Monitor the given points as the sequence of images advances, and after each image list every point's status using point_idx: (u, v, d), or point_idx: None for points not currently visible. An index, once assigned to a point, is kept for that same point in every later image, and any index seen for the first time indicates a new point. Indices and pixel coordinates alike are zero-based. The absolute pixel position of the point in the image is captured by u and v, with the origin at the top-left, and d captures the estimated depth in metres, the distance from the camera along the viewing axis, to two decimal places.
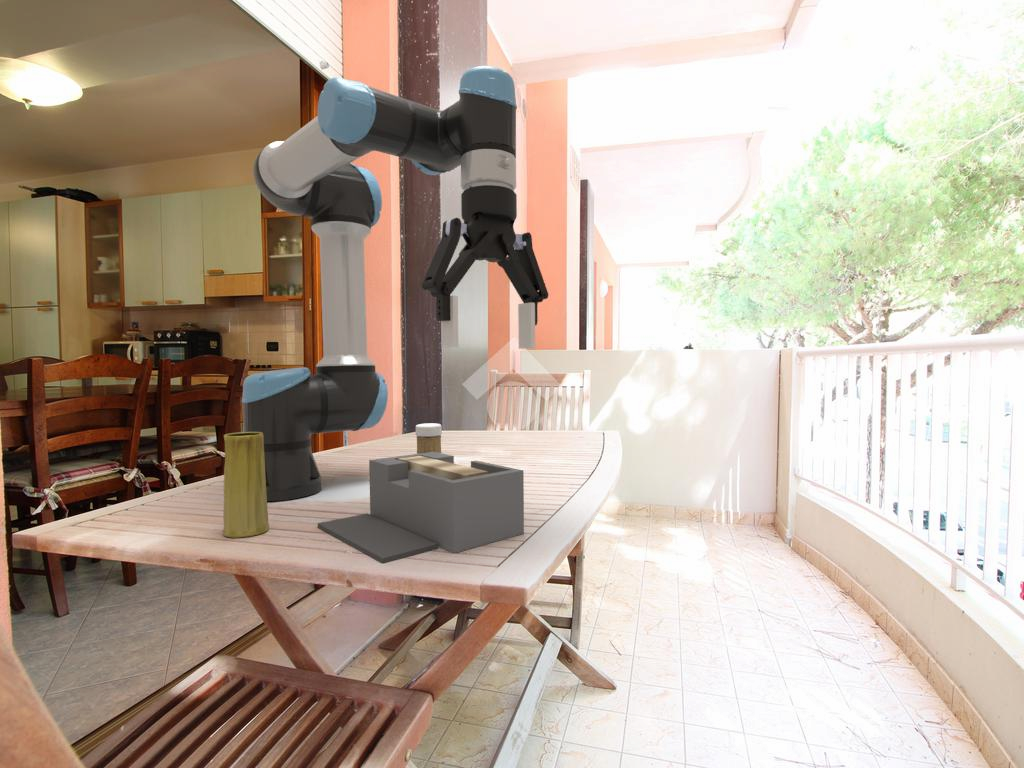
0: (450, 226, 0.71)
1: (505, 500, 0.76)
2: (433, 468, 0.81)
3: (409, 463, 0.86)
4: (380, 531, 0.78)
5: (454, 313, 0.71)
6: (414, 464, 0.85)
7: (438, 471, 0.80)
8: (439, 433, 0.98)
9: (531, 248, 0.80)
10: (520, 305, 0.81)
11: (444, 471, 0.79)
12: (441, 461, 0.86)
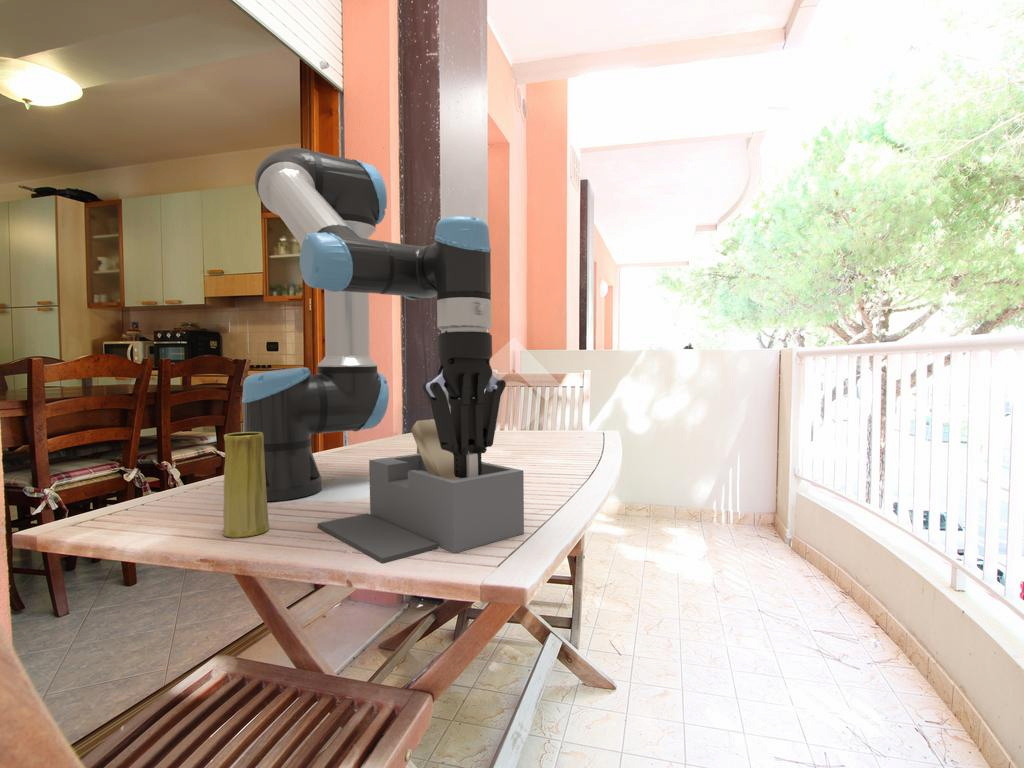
0: (432, 393, 0.74)
1: (505, 500, 0.76)
2: None
3: (424, 441, 0.83)
4: (380, 531, 0.78)
5: (470, 471, 0.77)
6: (427, 449, 0.82)
7: None
8: None
9: (499, 395, 0.80)
10: None
11: None
12: (453, 456, 0.84)
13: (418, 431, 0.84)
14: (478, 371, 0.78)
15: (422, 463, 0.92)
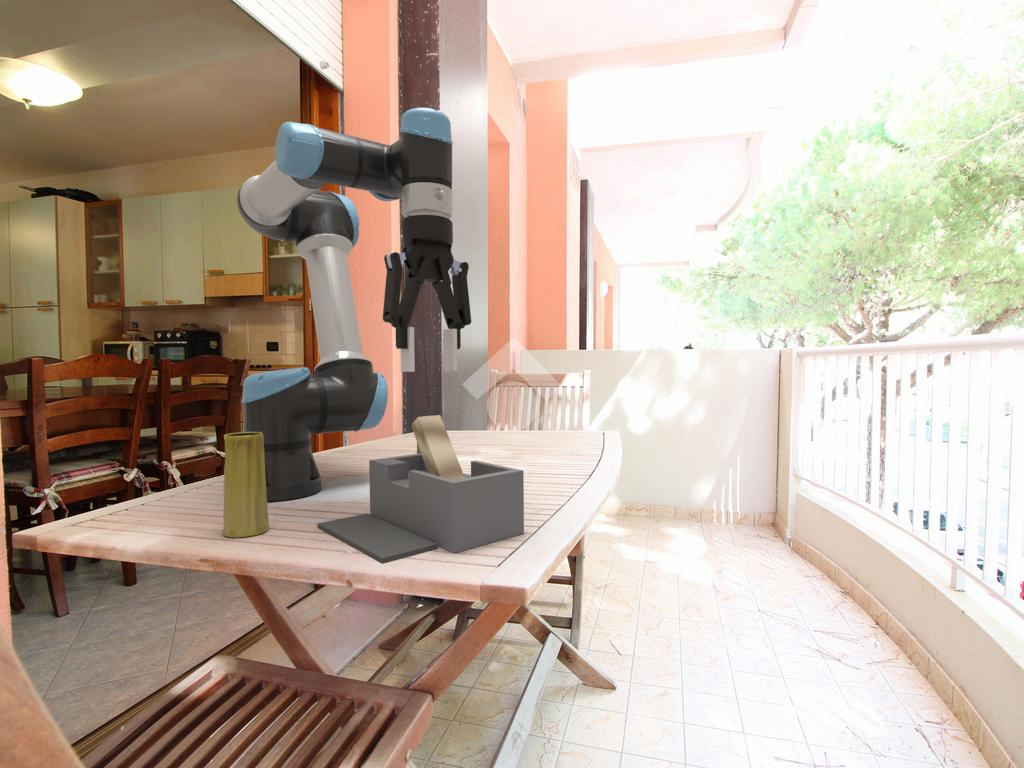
0: (391, 261, 0.80)
1: (505, 500, 0.76)
2: None
3: (424, 438, 0.83)
4: (380, 531, 0.78)
5: (411, 342, 0.81)
6: (428, 446, 0.82)
7: None
8: None
9: (465, 276, 0.87)
10: (444, 331, 0.88)
11: None
12: (453, 454, 0.84)
13: (418, 427, 0.84)
14: None
15: (422, 463, 0.92)
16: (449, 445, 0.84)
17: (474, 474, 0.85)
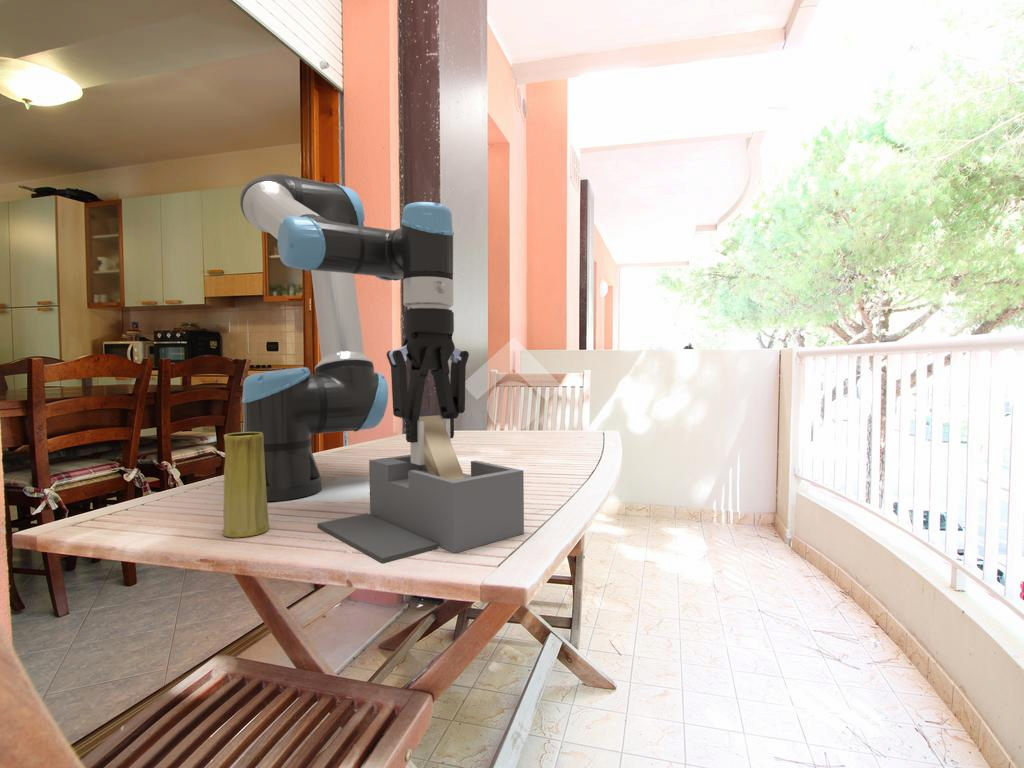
0: (394, 359, 0.80)
1: (505, 500, 0.76)
2: None
3: (424, 438, 0.83)
4: (380, 531, 0.78)
5: (421, 436, 0.83)
6: (428, 446, 0.82)
7: None
8: None
9: (464, 365, 0.88)
10: None
11: None
12: (453, 454, 0.84)
13: None
14: None
15: None
16: (449, 445, 0.84)
17: (474, 474, 0.85)
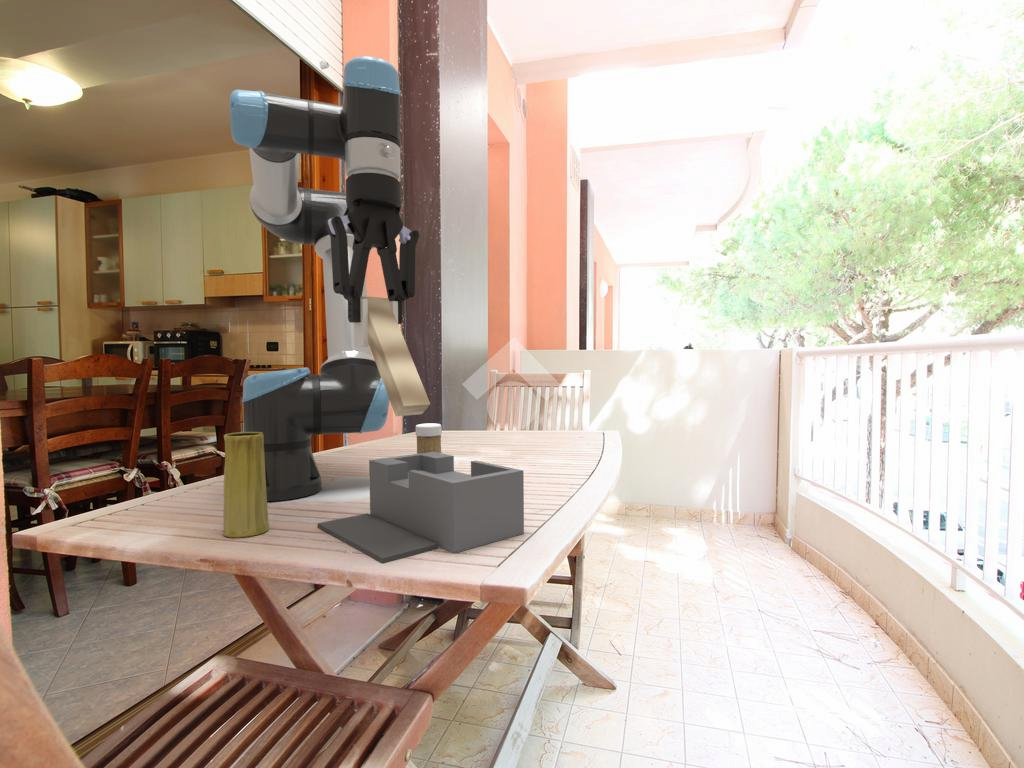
0: (333, 227, 0.73)
1: (505, 500, 0.76)
2: (384, 356, 0.73)
3: (368, 317, 0.76)
4: (380, 531, 0.78)
5: (364, 315, 0.76)
6: (372, 325, 0.75)
7: (387, 366, 0.73)
8: (439, 433, 0.98)
9: (414, 245, 0.81)
10: None
11: (391, 374, 0.72)
12: (400, 336, 0.77)
13: None
14: None
15: (422, 463, 0.92)
16: (396, 327, 0.77)
17: (474, 474, 0.85)
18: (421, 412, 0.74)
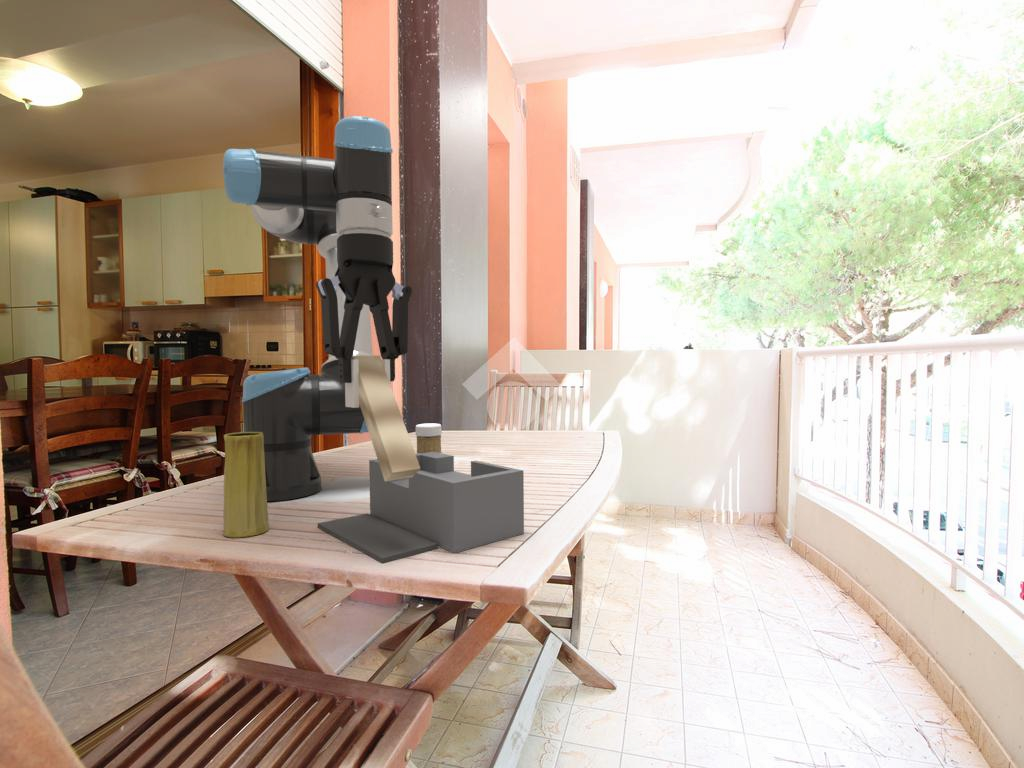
0: (323, 289, 0.73)
1: (505, 500, 0.76)
2: (374, 419, 0.72)
3: (359, 377, 0.75)
4: (380, 531, 0.78)
5: (355, 376, 0.75)
6: (362, 386, 0.74)
7: (376, 430, 0.72)
8: (439, 433, 0.98)
9: (406, 301, 0.80)
10: None
11: (380, 439, 0.71)
12: (392, 396, 0.76)
13: None
14: None
15: (422, 463, 0.92)
16: (388, 387, 0.76)
17: (474, 474, 0.85)
18: (411, 475, 0.73)
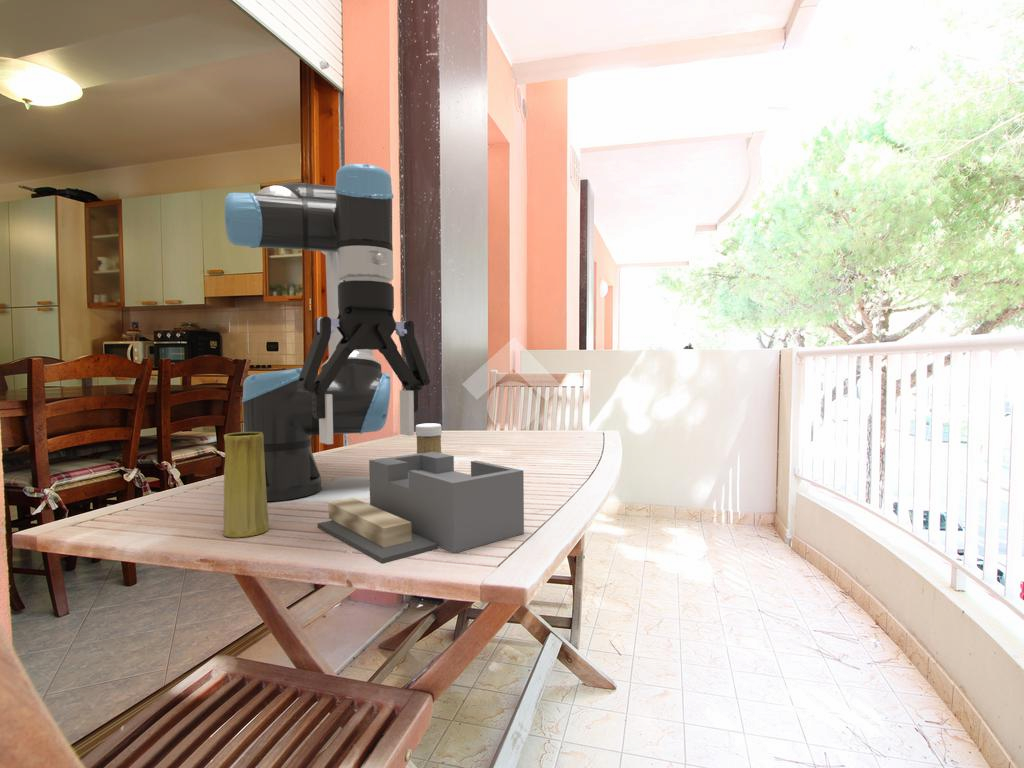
0: (320, 325, 0.72)
1: (505, 500, 0.76)
2: (357, 517, 0.77)
3: (337, 508, 0.83)
4: None
5: (328, 411, 0.73)
6: (341, 510, 0.81)
7: (362, 520, 0.76)
8: (439, 433, 0.98)
9: (412, 336, 0.81)
10: (401, 392, 0.82)
11: (366, 521, 0.75)
12: (371, 506, 0.82)
13: (332, 508, 0.84)
14: None
15: (422, 463, 0.92)
16: (365, 504, 0.83)
17: (474, 474, 0.85)
18: (409, 537, 0.74)
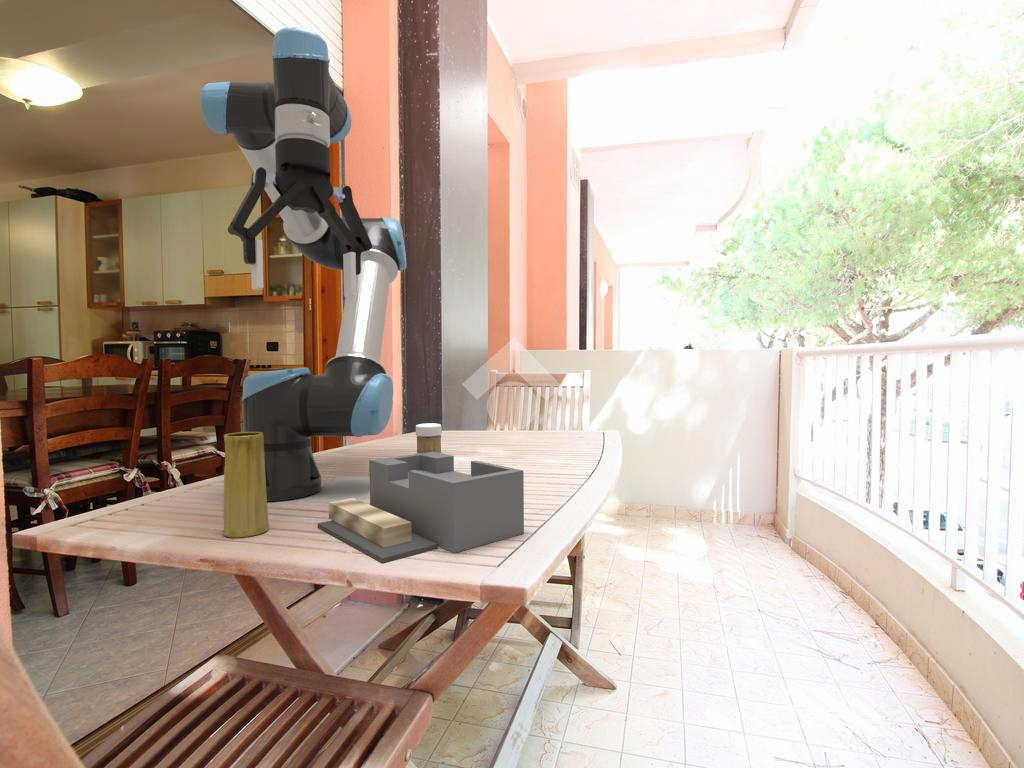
0: (255, 176, 0.76)
1: (505, 500, 0.76)
2: (357, 517, 0.77)
3: (337, 508, 0.83)
4: None
5: (258, 256, 0.76)
6: (341, 510, 0.81)
7: (362, 520, 0.76)
8: (439, 433, 0.98)
9: (351, 201, 0.85)
10: (344, 255, 0.86)
11: (366, 521, 0.75)
12: (371, 506, 0.82)
13: (332, 508, 0.84)
14: None
15: (422, 463, 0.92)
16: (365, 504, 0.83)
17: (474, 474, 0.85)
18: (409, 537, 0.74)
